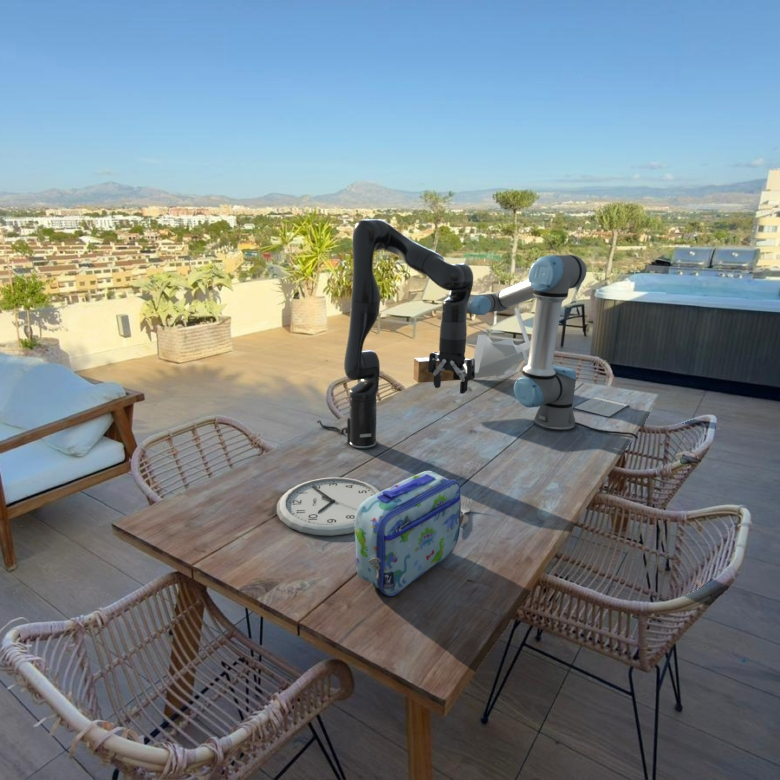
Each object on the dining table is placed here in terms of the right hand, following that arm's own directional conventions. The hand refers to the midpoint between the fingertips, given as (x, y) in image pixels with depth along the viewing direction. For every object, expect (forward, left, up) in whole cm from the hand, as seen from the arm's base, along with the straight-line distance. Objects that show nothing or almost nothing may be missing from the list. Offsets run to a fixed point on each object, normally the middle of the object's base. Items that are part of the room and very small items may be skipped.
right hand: (453, 377), depth 228 cm
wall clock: (+32, +97, -11) cm, 102 cm away
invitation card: (-64, -2, -11) cm, 65 cm away
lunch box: (+9, +122, -11) cm, 123 cm away
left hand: (+2, +73, +17) cm, 75 cm away
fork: (-3, +99, -11) cm, 99 cm away
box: (+7, +3, -1) cm, 7 cm away
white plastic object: (-24, -27, -11) cm, 38 cm away
